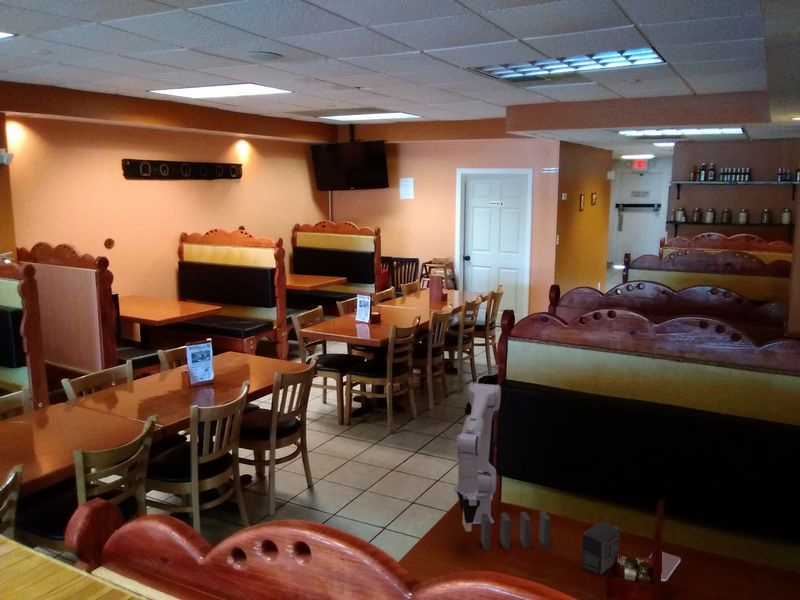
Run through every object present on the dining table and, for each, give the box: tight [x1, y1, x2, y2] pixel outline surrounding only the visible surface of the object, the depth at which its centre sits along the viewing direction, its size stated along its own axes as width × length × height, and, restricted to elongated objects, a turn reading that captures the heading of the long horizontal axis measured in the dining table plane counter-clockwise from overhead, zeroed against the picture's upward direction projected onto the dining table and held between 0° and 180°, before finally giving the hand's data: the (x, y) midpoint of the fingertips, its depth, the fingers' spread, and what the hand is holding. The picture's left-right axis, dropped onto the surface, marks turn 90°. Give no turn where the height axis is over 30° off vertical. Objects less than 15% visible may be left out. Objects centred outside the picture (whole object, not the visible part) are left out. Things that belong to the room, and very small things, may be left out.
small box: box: [581, 521, 621, 576], centre depth 185 cm, size 11×6×10 cm, turn 134°
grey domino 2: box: [519, 511, 531, 550], centre depth 196 cm, size 2×5×9 cm, turn 6°
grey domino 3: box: [538, 510, 551, 549], centre depth 196 cm, size 2×5×9 cm, turn 6°
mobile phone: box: [648, 551, 681, 582], centre depth 185 cm, size 8×1×15 cm
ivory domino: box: [462, 496, 473, 532], centre depth 192 cm, size 2×5×9 cm, turn 6°
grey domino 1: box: [480, 513, 492, 551], centre depth 194 cm, size 2×5×9 cm, turn 6°
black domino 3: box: [499, 512, 512, 550], centre depth 195 cm, size 2×5×9 cm, turn 6°
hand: (467, 517), depth 192 cm, fingers closed on ivory domino, 5 cm apart
